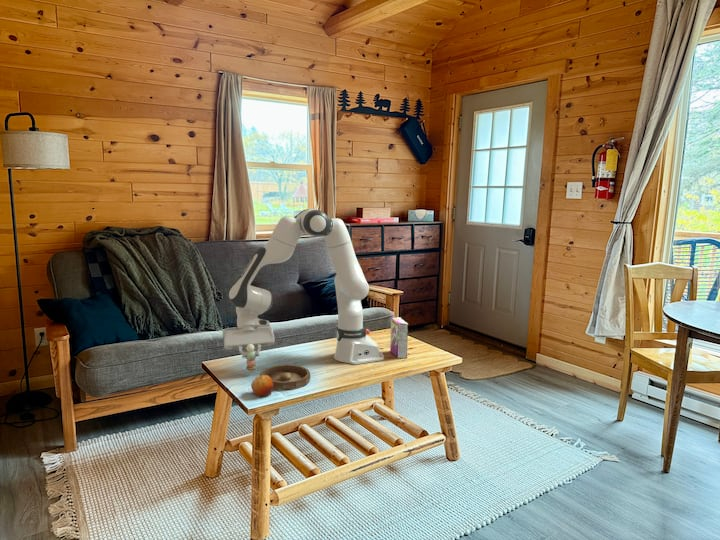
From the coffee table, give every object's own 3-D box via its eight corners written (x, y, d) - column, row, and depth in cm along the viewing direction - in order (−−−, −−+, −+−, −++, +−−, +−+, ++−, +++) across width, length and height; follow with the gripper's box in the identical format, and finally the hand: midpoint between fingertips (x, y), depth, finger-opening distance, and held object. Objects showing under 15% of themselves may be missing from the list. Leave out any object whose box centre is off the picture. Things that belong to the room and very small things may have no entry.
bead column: (255, 366, 203) (254, 342, 201) (256, 370, 199) (255, 345, 197) (245, 367, 202) (244, 343, 200) (246, 371, 198) (245, 346, 196)
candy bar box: (389, 351, 235) (390, 317, 232) (399, 350, 236) (400, 317, 233) (396, 359, 224) (398, 323, 221) (407, 358, 225) (408, 323, 222)
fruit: (280, 393, 180) (268, 376, 178) (261, 405, 179) (249, 388, 177) (277, 384, 188) (266, 368, 186) (259, 396, 187) (247, 380, 184)
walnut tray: (304, 370, 208) (304, 363, 207) (313, 387, 190) (314, 379, 189) (258, 374, 202) (258, 367, 202) (263, 392, 184) (263, 384, 184)
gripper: (222, 324, 201) (223, 355, 194) (273, 320, 207) (276, 350, 199) (222, 332, 206) (224, 362, 199) (272, 328, 212) (275, 357, 204)
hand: (250, 356), depth 199 cm, fingers closed on bead column, 4 cm apart
